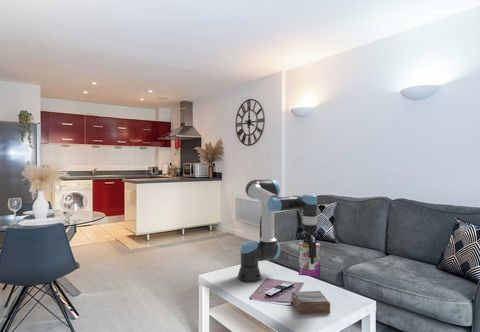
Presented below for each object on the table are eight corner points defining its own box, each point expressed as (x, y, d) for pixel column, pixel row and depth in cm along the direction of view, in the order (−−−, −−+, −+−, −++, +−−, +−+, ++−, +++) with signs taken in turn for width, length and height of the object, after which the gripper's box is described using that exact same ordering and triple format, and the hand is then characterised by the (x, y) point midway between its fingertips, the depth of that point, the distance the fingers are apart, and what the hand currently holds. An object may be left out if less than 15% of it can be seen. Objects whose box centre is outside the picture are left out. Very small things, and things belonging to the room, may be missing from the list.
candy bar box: (298, 275, 156) (298, 244, 156) (298, 272, 161) (298, 241, 161) (320, 277, 154) (320, 245, 154) (320, 273, 159) (320, 243, 159)
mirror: (291, 301, 164) (291, 291, 164) (320, 300, 166) (320, 290, 166) (299, 314, 150) (299, 303, 150) (330, 312, 152) (330, 302, 152)
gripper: (297, 220, 166) (297, 261, 167) (308, 227, 147) (308, 274, 148) (310, 220, 167) (310, 261, 167) (323, 227, 148) (323, 273, 148)
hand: (309, 267), depth 158 cm, fingers closed on candy bar box, 6 cm apart
